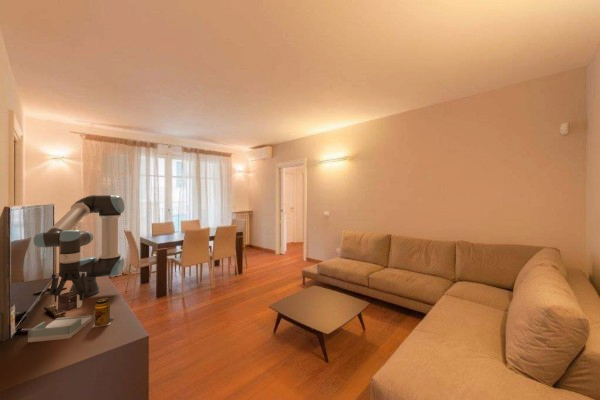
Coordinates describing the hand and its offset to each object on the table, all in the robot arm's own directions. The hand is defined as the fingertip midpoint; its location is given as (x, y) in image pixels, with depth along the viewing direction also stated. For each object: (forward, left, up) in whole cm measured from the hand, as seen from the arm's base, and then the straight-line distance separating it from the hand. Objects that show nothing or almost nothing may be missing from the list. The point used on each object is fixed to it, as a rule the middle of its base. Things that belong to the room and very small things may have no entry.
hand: (69, 307), depth 121 cm
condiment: (0, +14, -9) cm, 17 cm away
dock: (+4, 0, -9) cm, 10 cm away
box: (0, 0, -1) cm, 1 cm away
